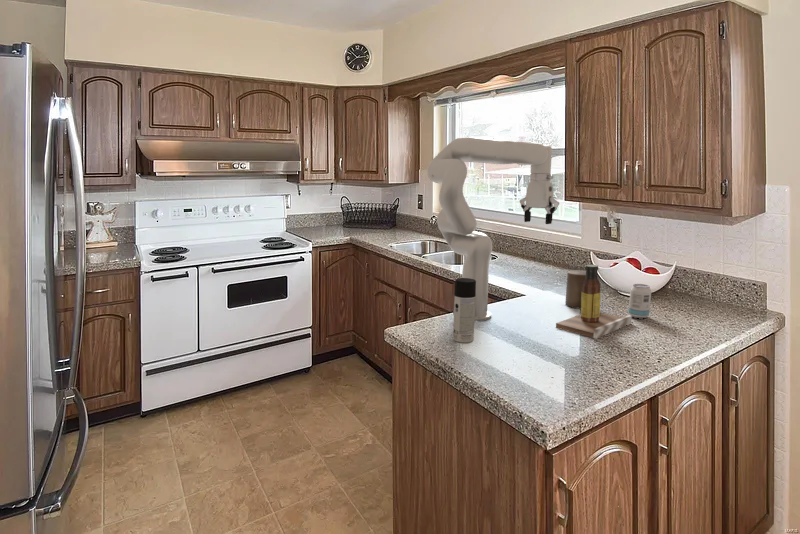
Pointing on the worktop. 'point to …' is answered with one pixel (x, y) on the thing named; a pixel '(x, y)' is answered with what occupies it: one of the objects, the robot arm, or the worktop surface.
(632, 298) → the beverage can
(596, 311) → the sauce bottle
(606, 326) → the shelf board
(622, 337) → the worktop surface
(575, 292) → the pillar candle
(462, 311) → the spray can
